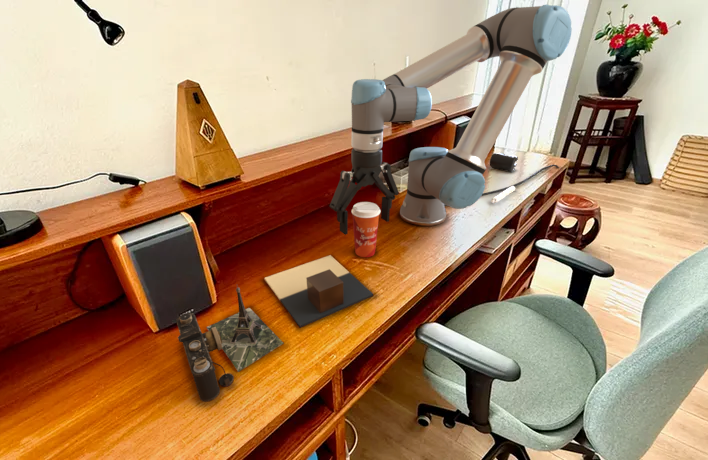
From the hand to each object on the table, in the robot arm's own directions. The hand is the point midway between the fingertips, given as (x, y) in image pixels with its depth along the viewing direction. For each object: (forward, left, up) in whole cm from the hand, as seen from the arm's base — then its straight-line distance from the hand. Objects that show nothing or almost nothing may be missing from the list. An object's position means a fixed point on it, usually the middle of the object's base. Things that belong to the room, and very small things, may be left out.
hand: (365, 226), depth 98 cm
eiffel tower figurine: (+39, +13, -9) cm, 42 cm away
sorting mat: (+19, +7, -8) cm, 22 cm away
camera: (+47, +16, -9) cm, 50 cm away
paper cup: (0, 0, -9) cm, 9 cm away
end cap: (-91, -23, -9) cm, 94 cm away
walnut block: (+20, +13, -8) cm, 25 cm away
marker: (-65, -3, -9) cm, 65 cm away
